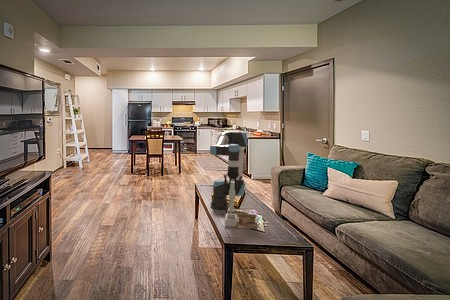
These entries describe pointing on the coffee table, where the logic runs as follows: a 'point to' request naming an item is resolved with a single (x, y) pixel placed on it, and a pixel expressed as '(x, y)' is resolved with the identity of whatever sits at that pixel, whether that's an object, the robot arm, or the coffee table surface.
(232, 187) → the grey-green flat block
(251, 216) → the rack
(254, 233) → the coffee table surface
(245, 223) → the offcut walnut
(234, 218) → the bin
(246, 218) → the offcut oak
